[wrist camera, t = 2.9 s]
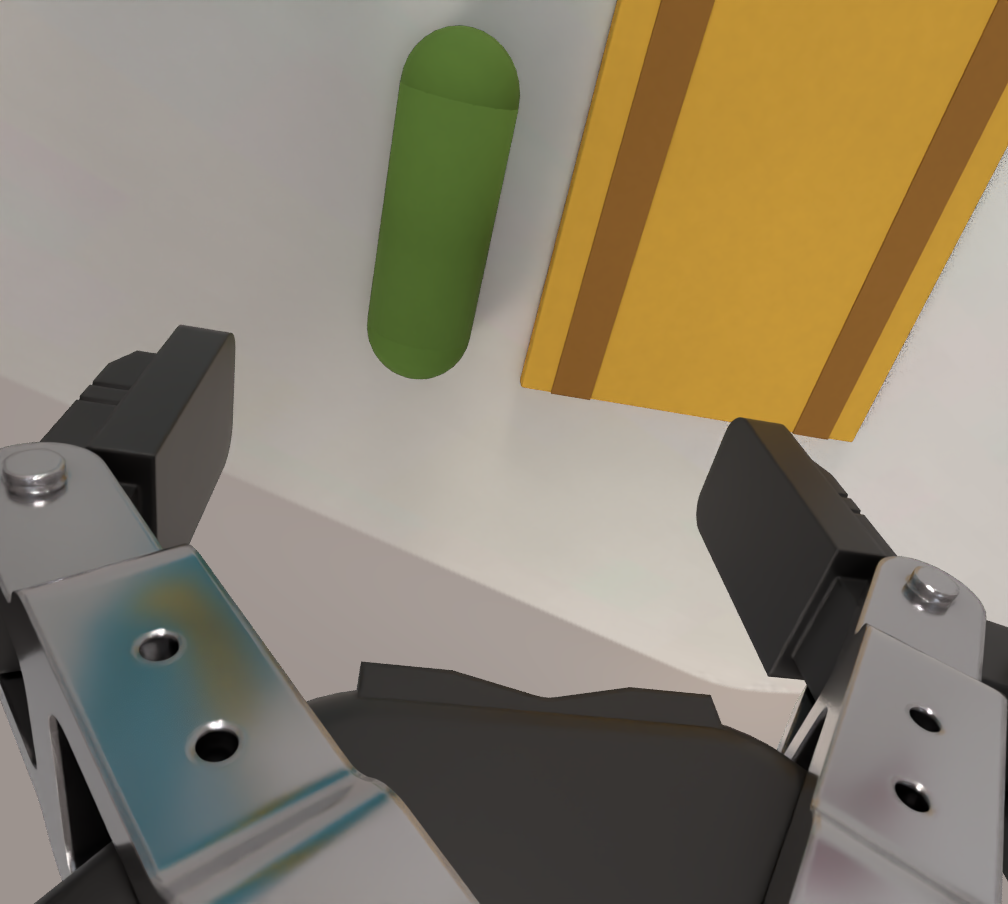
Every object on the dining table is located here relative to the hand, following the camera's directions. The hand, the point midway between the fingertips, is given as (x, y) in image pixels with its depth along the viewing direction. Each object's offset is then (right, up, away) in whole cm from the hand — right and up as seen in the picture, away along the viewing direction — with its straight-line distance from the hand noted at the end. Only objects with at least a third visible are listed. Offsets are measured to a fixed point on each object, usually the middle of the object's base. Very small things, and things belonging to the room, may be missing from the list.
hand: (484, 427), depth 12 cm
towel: (+10, +11, +13) cm, 20 cm away
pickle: (-2, +8, +14) cm, 16 cm away
